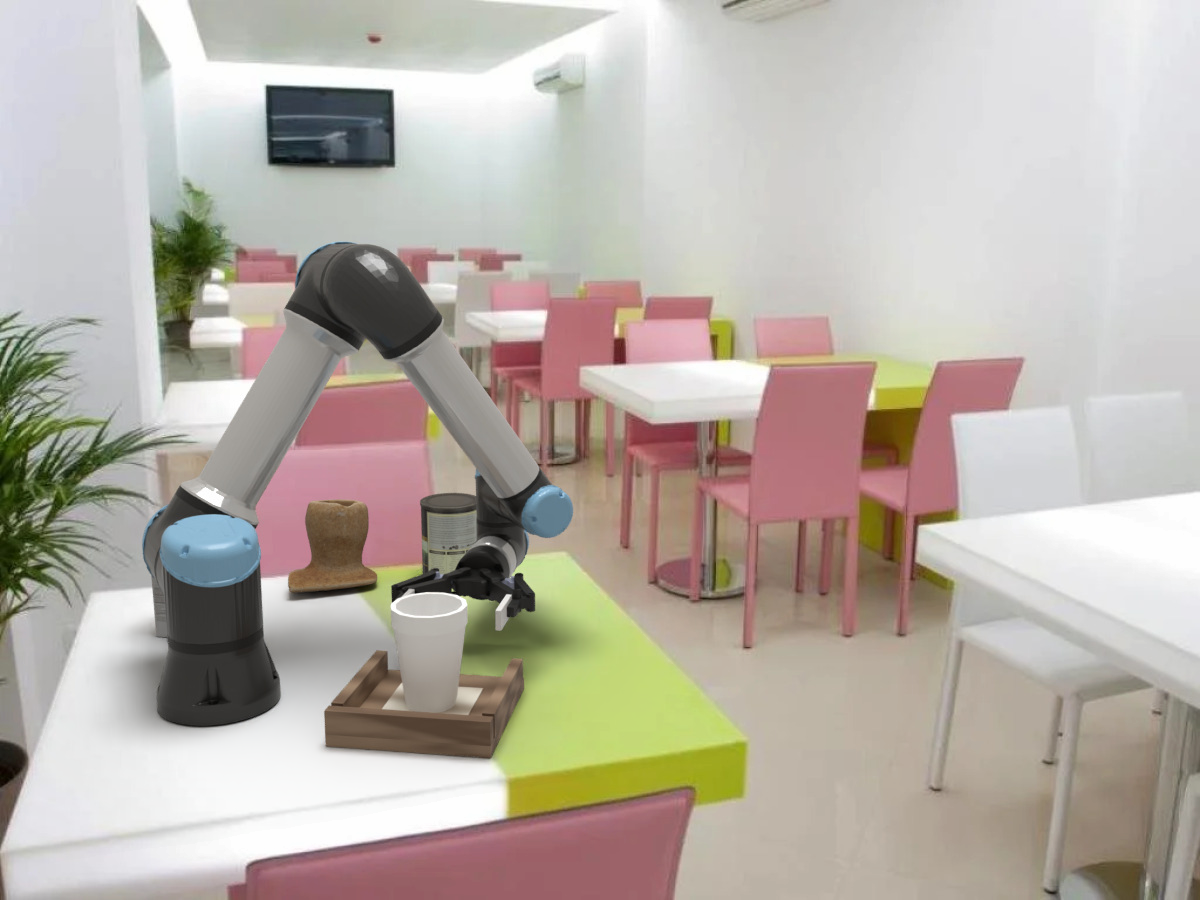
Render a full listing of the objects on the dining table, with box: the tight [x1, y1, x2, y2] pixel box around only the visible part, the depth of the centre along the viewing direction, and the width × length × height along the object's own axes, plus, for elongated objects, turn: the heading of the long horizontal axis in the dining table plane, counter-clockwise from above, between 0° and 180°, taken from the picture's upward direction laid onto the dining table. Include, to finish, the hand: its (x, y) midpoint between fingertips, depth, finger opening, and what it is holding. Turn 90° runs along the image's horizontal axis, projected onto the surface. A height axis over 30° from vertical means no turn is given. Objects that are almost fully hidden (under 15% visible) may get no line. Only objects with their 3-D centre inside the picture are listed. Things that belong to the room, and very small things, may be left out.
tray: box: [323, 649, 525, 759], centre depth 142 cm, size 20×20×4 cm
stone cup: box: [287, 499, 378, 594], centre depth 190 cm, size 15×12×15 cm
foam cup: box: [390, 592, 469, 713], centre depth 141 cm, size 10×9×13 cm
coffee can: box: [419, 492, 477, 574], centre depth 195 cm, size 10×10×14 cm
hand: (447, 617), depth 147 cm, fingers open, 13 cm apart
